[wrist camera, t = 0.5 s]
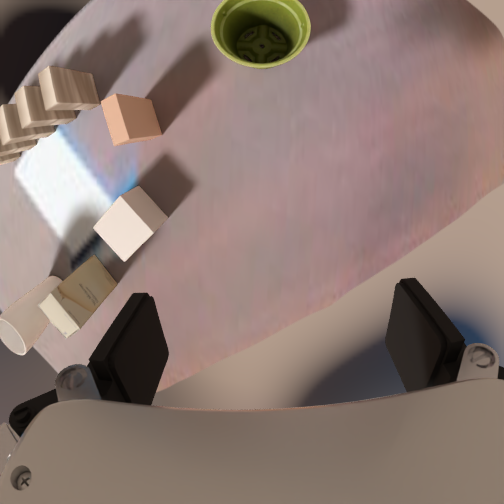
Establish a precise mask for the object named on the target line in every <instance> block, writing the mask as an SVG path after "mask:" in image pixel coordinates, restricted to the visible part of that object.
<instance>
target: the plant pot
mask: <svg viewBox="0 0 504 504" xmlns="http://www.w3.org/2000/svg"><path fill="white" fill-rule="evenodd" d="M310 31H311V24H310V19H309V16H308V13H307V11H306V9H305V8H304V6H303V5H302V4H301V3H300V2H299V1H298V0H223V1H222V2H221V4H220V5H219V6H218V7H217V9H216V11H215V12H214V15H213V17H212V21H211V35H212V38H213V41H214V43H215V45H216V46H217V48H218V49H219V50H220V51H221V52H222V53H223V54H224V55H225V56H226V57H228V58H229V59H230V60H232V61H234V62H236V63H239V64H241V65H244V66H249V67H253V68H257V69H267V68H271V67H274V66H278V65H281V64H284V63H286V62H288V61H290V60H291V59H293V58H294V57H296V56H297V55H298V54H299V53H300V52H301V51H302V50H303V48H304V47H305V45H306V44H307V42H308V39H309V36H310ZM249 32H254V33H253V34H251V35H250V36H248V37H247V38H245V35H246V34H248V33H249ZM273 32H274V33H275V34H276V35H278V36H279V37H280V40H278V39H277V38H276V37H275V36H274V35H273V34H272V33H273ZM261 44H263V45H264V48H261V47H260V45H261ZM244 54H245V55H246V56H247V57H248V58H249V59H250V60H252V62H249V61H248V60H247V59H245V58H244ZM277 56H279V58H278V60H277V61H275V62H270V61H272V60H273V59H275V58H276V57H277Z"/></svg>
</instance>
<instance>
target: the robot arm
mask: <svg viewBox="0 0 504 504" xmlns="http://www.w3.org/2000/svg"><path fill="white" fill-rule="evenodd" d="M464 341H465V339H464V337H463V336H462V335H461V333H460V332H459V331H458V329H457V328H456V327H455V326H454V324H453V323H452V322H451V320H450V319H449V318H448V317H447V315H446V314H445V313H444V312H443V311H442V309H441V308H440V307H439V306H438V304H437V303H436V302H435V301H434V299H433V298H432V297H431V296H430V295H429V293H428V292H427V291H426V290H425V289H424V288H423V286H422V285H421V284H420V283H419V282H418V281H417V280H416V278H407V279H401V280H400V282H399V283H397V284H396V286H395V292H394V298H393V303H392V309H391V314H390V319H389V324H388V329H387V334H386V338H385V343H386V347H387V349H388V351H389V353H390V355H391V358H392V360H393V362H394V364H395V366H396V369H397V371H398V373H399V375H400V377H401V380H402V382H403V384H404V387H405V389H406V391H407V393H401V394H396V395H391V396H385V397H380V398H374V399H368V400H362V401H354V402H347V403H339V404H330V405H322V406H310V407H298V408H282V409H255V410H219V409H218V410H217V409H191V408H176V407H163V406H151V404H152V401H153V398H154V395H155V393H156V390H157V387H158V384H159V381H160V379H161V376H162V373H163V370H164V368H165V365H166V362H167V360H168V356H169V351H168V347H167V344H166V340H165V337H164V334H163V330H162V327H161V323H160V320H159V316H158V313H157V309H156V305H155V301H154V298H153V297H152V296H149V294H148V293H133V294H132V295H131V297H130V298H129V300H128V301H127V303H126V304H125V305H124V307H123V308H122V310H121V311H120V313H119V314H118V316H117V317H116V319H115V320H114V321H113V323H112V324H111V326H110V327H109V329H108V330H107V332H106V333H105V335H104V336H103V338H102V340H101V341H100V343H99V344H98V346H97V347H96V349H95V350H94V352H93V353H92V355H91V357H90V358H89V361H90V362H89V364H88V365H87V366H85V365H82V364H74V365H71V366H68V367H66V368H64V369H63V370H62V371H60V373H59V374H58V375H57V377H56V379H55V386H56V389H54V390H51V391H49V392H47V393H45V394H42V395H40V396H38V397H35V398H33V399H31V400H28V401H26V402H24V403H21V404H20V405H18V406H16V407H15V408H14V409H13V411H12V412H11V414H10V417H9V424H8V425H7V424H6V423H5V422H4V423H3V424H2V425H1V426H0V504H504V368H503V367H501V366H499V357H498V355H497V353H496V352H495V351H494V349H492V348H490V347H489V346H487V345H485V344H480V343H473V344H471V345H469V346H466V345H465V343H464Z"/></svg>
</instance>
